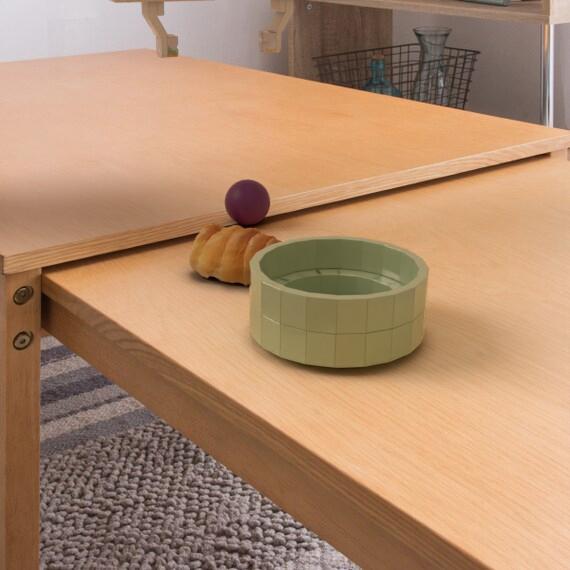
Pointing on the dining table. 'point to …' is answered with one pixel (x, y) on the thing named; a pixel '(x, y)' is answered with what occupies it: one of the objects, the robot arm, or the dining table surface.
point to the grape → (247, 202)
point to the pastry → (227, 251)
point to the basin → (337, 300)
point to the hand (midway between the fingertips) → (219, 54)
